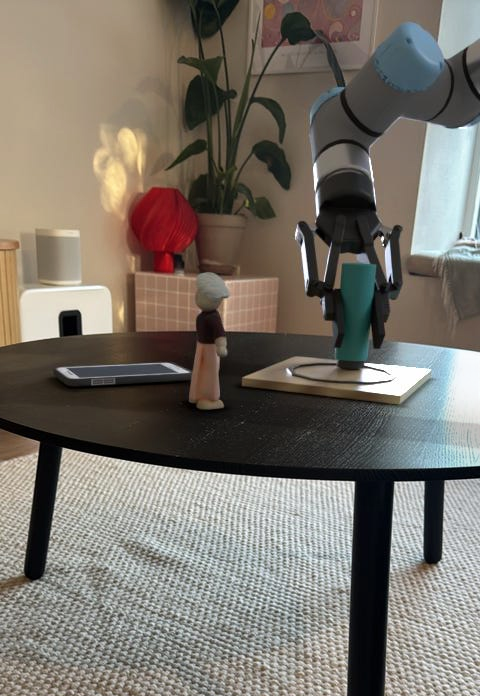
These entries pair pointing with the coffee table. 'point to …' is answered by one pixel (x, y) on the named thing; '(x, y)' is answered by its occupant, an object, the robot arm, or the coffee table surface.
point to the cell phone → (121, 374)
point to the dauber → (356, 313)
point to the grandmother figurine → (208, 342)
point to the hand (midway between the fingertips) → (359, 340)
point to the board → (340, 380)
